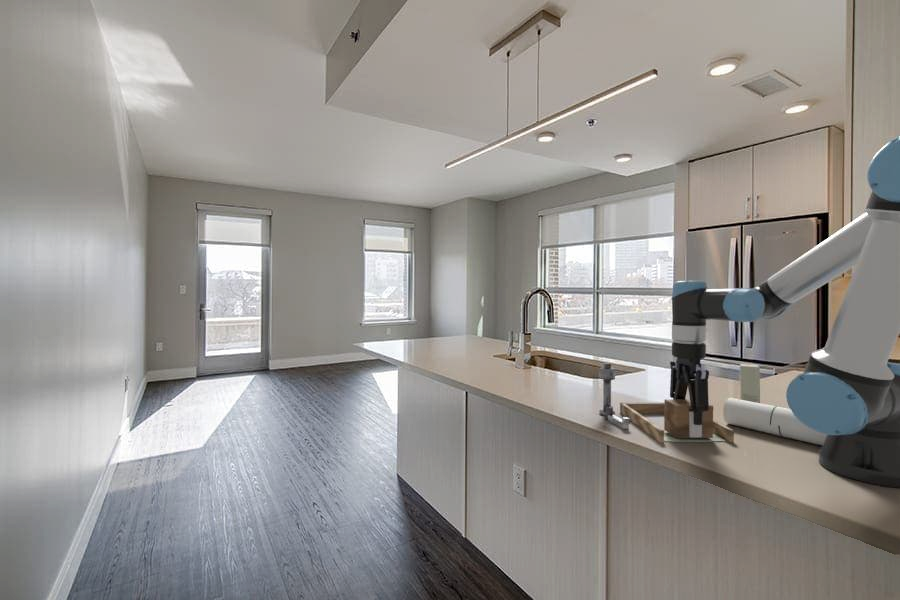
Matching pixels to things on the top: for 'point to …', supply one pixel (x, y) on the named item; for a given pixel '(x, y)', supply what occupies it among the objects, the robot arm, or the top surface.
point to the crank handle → (617, 418)
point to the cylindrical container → (769, 420)
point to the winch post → (606, 385)
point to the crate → (685, 419)
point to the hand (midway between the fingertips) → (687, 432)
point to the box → (750, 383)
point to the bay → (660, 435)
